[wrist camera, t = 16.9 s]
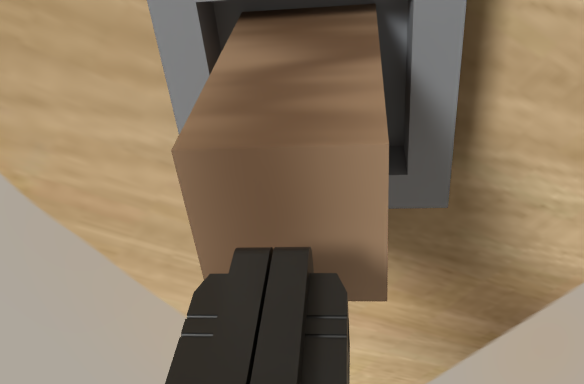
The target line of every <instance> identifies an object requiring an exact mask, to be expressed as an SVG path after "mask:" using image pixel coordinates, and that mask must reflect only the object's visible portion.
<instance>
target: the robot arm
mask: <svg viewBox="0 0 584 384" xmlns="http://www.w3.org/2000/svg"><path fill="white" fill-rule="evenodd" d="M349 367H350V341H349V318H348V295H347V291H346V289H345V287H344V285H343V284H342V282H341V280H340V278H339V276H338V274H337V273H314V269H313V258H312V249H311V247H275V248H274V249H273V248H272V247H245V248H236V249H235V251H234V254H233V258H232V262H231V265H230V269H229V273H228V274H209V275H208V277H207V278H206V279H205V280H204V281H203V282H202V284H201V285H200V286H199V287H198V288H197V289H196V291H195V292H194V294H193V297H192V300H191V303H190V306H189V310H188V313H187V319H185V322H184V325H183V329H182V332H181V337H180V338H179V341H178V344H177V348H176V351H175V354H174V357H173V361H172V363H171V367H170V370H169V373H168V376H167V379H166V383H165V384H349Z"/></svg>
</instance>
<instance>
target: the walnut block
mask: <svg viewBox="0 0 584 384" xmlns="http://www.w3.org/2000/svg"><path fill="white" fill-rule="evenodd" d="M171 152H172V155H173V159H174V163H175V167H176V171H177V175H178V179H179V183H180V187H181V191H182V195H183V199H184V203H185V207H186V211H187V215H188V218H189V222H190V226H191V230H192V234H193V238H194V242H195V246H196V250H197V254H198V258H199V262H200V266H201V270H202V274H203V278H204V280H205V279H206V278H207V277H208V275H209V274H228V273H229V269H230V265H231V262H232V258H233V254H234V251H235V249H236V248H245V247H272V248H273V249H274V248H275V247H311V249H312V258H313V269H314V273H337V274H338V276H339V278H340V280H341V282H342V284H343V285H344V287H345V289H346V291H347V295H348V301H387V272H388V187H389V139H388V128H387V118H386V107H385V97H384V86H383V76H382V65H381V55H380V44H379V34H378V24H377V13H376V4H361V5H345V6H329V7H313V8H298V9H282V10H266V11H250V12H242V13H241V15H240V17H239V19H238V21H237V23H236V25H235V27H234V29H233V31H232V33H231V34H230V36H229V38H228V40H227V42H226V44H225V46H224V48H223V50H222V52H221V54H220V56H219V58H218V60H217V62H216V64H215V66H214V68H213V70H212V72H211V74H210V76H209V78H208V80H207V81H206V83H205V85H204V87H203V89H202V91H201V93H200V95H199V97H198V99H197V101H196V103H195V105H194V107H193V109H192V111H191V113H190V115H189V117H188V119H187V121H186V123H185V125H184V127H183V128H182V130H181V132H180V134H179V136H178V138H177V140H176V142H175V144H174V146H173V148H172V150H171Z"/></svg>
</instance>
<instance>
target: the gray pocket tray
mask: <svg viewBox="0 0 584 384" xmlns="http://www.w3.org/2000/svg"><path fill="white" fill-rule="evenodd" d="M147 2H148V6H149V11H150V15H151V19H152V23H153V27H154V32H155V36H156V40H157V44H158V48H159V52H160V57H161V61H162V65H163V69H164V73H165V78H166V82H167V86H168V90H169V94H170V98H171V103H172V107H173V111H174V115H175V119H176V124H177V128H178V132H179V134H180V132H181V130H182V128H183V127H184V125H185V123H186V121H187V119H188V117H189V115H190V113H191V111H192V109H193V107H194V105H195V103H196V101H197V99H198V97H199V95H200V93H201V91H202V89H203V87H204V85H205V83H206V81H207V80H208V78H209V76H210V74H211V72H212V70H213V68H214V66H215V64H216V62H217V60H218V58H219V56H220V54H221V52H222V50H223V48H224V46H225V44H226V42H227V40H228V38H229V36H230V34H231V33H232V31H233V29H234V27H235V25H236V23H237V21H238V19H239V17H240V15H241V13H242V12H250V11H266V10H282V9H298V8H313V7H329V6H345V5H361V4H376V13H377V24H378V34H379V44H380V55H381V65H382V76H383V86H384V97H385V107H386V118H387V128H388V139H389V187H388V209H394V208H448V201H449V190H450V179H451V167H452V156H453V145H454V134H455V123H456V112H457V101H458V90H459V79H460V68H461V57H462V46H463V35H464V24H465V13H466V2H467V0H147Z"/></svg>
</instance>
